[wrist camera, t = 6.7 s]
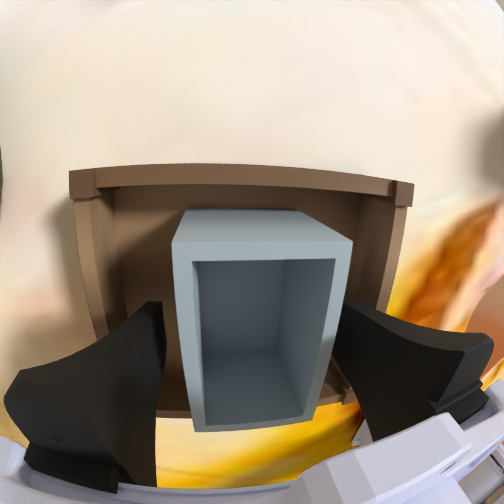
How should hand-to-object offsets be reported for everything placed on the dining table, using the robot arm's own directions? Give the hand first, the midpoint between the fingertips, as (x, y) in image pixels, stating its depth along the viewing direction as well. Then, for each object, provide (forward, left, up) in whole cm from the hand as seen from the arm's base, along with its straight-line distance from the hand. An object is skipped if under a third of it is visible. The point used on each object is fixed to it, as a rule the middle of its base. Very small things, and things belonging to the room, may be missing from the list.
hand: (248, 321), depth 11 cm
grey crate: (0, 0, -3) cm, 3 cm away
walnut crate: (0, 0, -3) cm, 3 cm away
